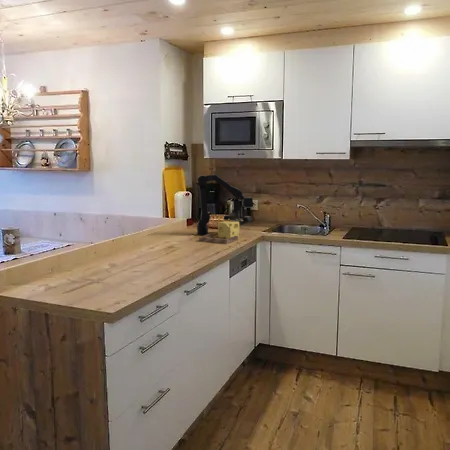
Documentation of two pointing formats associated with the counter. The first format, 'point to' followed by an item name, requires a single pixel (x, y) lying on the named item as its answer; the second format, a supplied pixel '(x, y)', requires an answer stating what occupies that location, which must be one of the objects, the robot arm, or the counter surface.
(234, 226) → the cheese
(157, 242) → the counter surface
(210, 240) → the bay
